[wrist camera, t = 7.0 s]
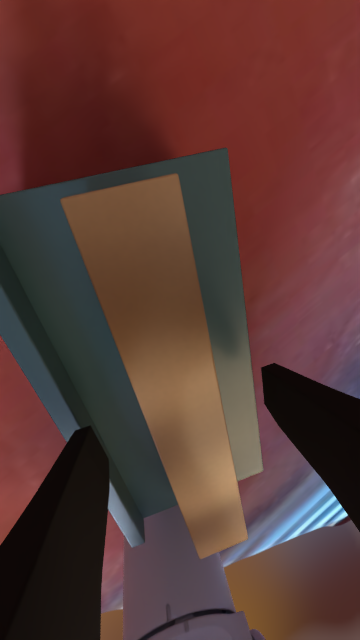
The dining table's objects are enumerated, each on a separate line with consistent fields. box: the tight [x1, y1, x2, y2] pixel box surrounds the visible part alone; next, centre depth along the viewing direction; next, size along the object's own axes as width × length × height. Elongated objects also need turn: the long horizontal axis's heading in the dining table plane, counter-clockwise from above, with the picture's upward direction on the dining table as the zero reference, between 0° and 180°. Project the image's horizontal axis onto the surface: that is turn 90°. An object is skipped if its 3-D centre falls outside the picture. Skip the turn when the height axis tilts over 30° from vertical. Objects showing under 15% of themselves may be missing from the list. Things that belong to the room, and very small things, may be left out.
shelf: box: [0, 148, 263, 548], centre depth 13 cm, size 18×9×7 cm, turn 13°
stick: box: [60, 173, 248, 559], centre depth 9 cm, size 16×3×3 cm, turn 13°
